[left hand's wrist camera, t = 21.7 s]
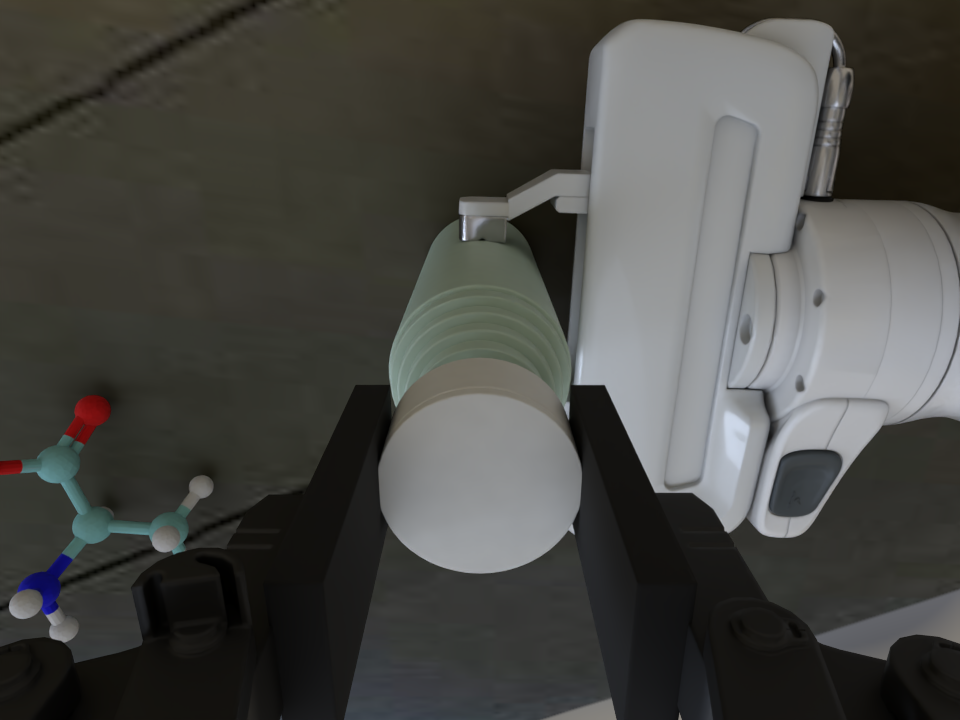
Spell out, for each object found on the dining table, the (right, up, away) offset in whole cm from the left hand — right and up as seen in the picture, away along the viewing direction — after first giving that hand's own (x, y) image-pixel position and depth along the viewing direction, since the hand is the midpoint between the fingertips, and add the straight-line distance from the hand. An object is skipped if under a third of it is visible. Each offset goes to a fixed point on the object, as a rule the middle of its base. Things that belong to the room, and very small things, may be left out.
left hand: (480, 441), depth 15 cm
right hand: (-1, +4, +11) cm, 12 cm away
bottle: (0, +6, +17) cm, 18 cm away
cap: (0, -1, -2) cm, 2 cm away
